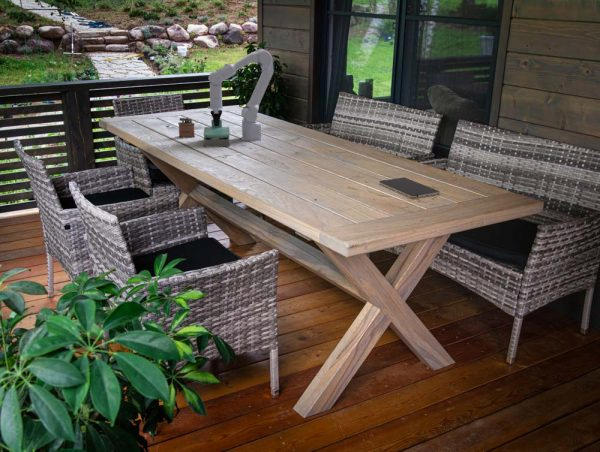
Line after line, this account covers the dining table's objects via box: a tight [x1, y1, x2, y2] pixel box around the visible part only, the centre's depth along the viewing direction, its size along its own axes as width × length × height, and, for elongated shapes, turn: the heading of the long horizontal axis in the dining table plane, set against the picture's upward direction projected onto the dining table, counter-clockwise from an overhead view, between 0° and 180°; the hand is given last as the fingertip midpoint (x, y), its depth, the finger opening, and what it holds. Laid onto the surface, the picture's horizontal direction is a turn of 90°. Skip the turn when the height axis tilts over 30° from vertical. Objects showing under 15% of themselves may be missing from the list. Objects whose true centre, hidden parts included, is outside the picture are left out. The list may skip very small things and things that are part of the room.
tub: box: [203, 135, 230, 147], centre depth 308 cm, size 12×14×4 cm
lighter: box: [178, 117, 196, 139], centre depth 319 cm, size 8×3×10 cm, turn 84°
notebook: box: [378, 176, 440, 198], centre depth 244 cm, size 13×2×21 cm
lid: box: [203, 119, 230, 138], centre depth 307 cm, size 12×14×5 cm
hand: (216, 125), depth 312 cm, fingers closed on lid
